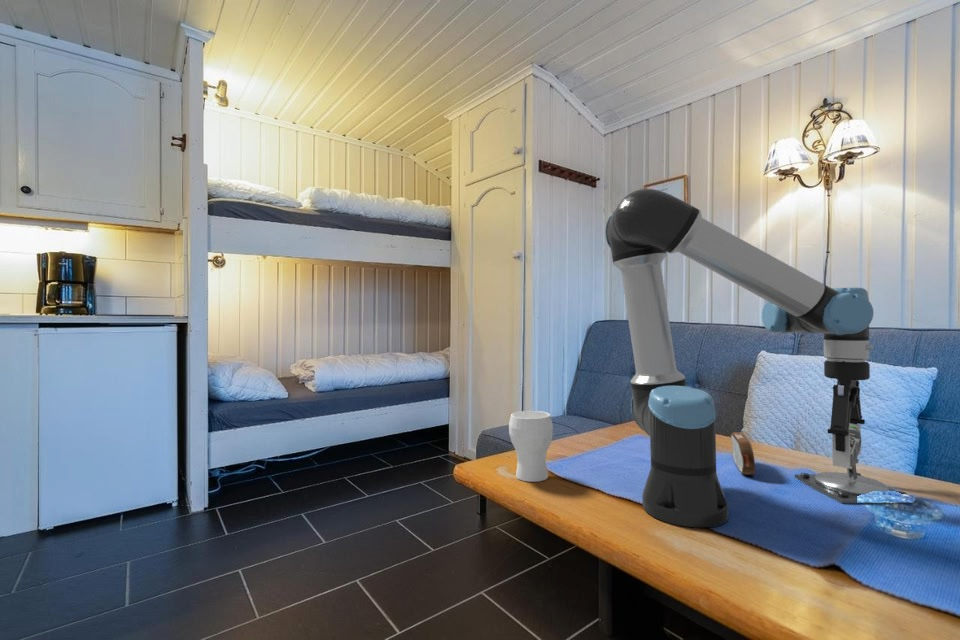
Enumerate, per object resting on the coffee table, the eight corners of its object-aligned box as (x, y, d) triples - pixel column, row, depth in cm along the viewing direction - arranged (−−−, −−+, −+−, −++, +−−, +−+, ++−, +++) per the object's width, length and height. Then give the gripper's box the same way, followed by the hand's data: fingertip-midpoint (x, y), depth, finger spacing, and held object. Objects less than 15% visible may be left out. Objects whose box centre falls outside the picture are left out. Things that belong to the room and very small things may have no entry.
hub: (841, 503, 88) (841, 494, 88) (794, 478, 102) (794, 471, 102) (915, 503, 88) (914, 494, 88) (857, 478, 101) (857, 470, 102)
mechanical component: (865, 464, 98) (861, 426, 95) (856, 495, 92) (852, 456, 89) (848, 460, 100) (844, 424, 97) (838, 491, 95) (833, 453, 92)
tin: (756, 480, 102) (755, 443, 102) (741, 479, 103) (740, 442, 103) (743, 461, 116) (742, 428, 116) (730, 460, 117) (729, 428, 117)
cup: (560, 473, 109) (559, 412, 109) (543, 487, 100) (541, 421, 100) (522, 466, 115) (521, 408, 115) (502, 479, 106) (500, 416, 106)
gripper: (859, 365, 84) (861, 477, 84) (877, 357, 101) (878, 451, 101) (811, 362, 89) (812, 468, 89) (835, 356, 106) (836, 444, 106)
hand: (847, 459), depth 95 cm, fingers open, 13 cm apart
